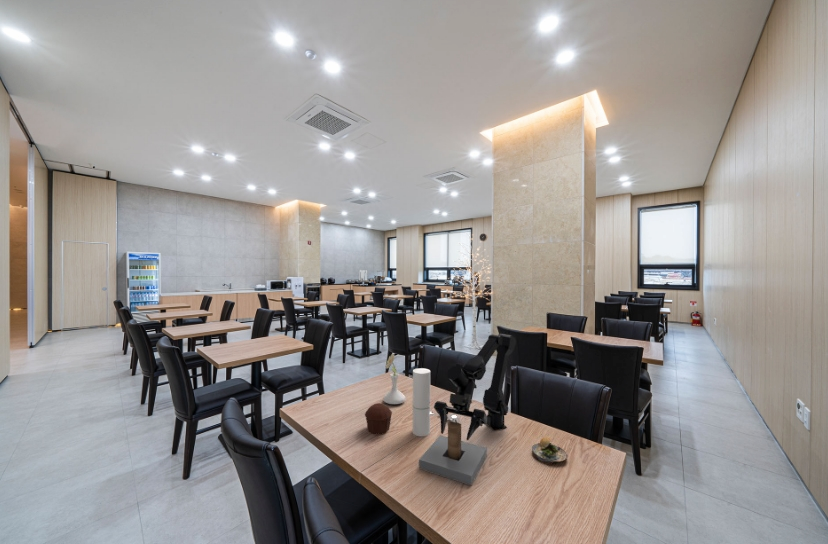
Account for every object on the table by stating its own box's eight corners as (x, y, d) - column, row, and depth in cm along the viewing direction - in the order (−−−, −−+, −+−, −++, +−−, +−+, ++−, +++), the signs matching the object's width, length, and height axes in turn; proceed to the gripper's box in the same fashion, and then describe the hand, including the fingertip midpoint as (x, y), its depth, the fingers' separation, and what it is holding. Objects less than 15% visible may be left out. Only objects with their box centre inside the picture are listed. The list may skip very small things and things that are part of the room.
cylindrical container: (432, 429, 131) (432, 369, 131) (427, 437, 124) (427, 374, 125) (415, 426, 133) (416, 367, 134) (410, 434, 127) (410, 372, 127)
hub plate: (440, 443, 121) (440, 435, 121) (486, 455, 112) (486, 447, 112) (418, 468, 105) (419, 459, 105) (471, 485, 96) (471, 475, 96)
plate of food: (553, 470, 105) (553, 447, 105) (524, 453, 115) (524, 432, 115) (574, 459, 111) (574, 438, 111) (545, 444, 121) (545, 424, 121)
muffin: (367, 422, 137) (367, 399, 137) (393, 423, 137) (393, 399, 137) (362, 436, 125) (362, 411, 125) (390, 437, 125) (390, 411, 125)
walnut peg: (450, 458, 111) (450, 421, 111) (461, 461, 109) (461, 423, 109) (445, 464, 107) (446, 425, 107) (457, 467, 105) (457, 428, 105)
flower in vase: (385, 396, 165) (386, 349, 166) (407, 398, 164) (407, 350, 164) (379, 407, 153) (380, 355, 153) (402, 408, 151) (403, 356, 151)
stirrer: (419, 404, 147) (426, 401, 151) (419, 411, 148) (425, 408, 151) (456, 419, 135) (461, 416, 138) (455, 428, 135) (461, 424, 139)
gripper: (435, 379, 118) (422, 421, 108) (485, 387, 109) (476, 434, 99) (443, 393, 125) (432, 433, 115) (490, 402, 116) (482, 446, 106)
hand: (454, 436), depth 108 cm, fingers open, 9 cm apart
